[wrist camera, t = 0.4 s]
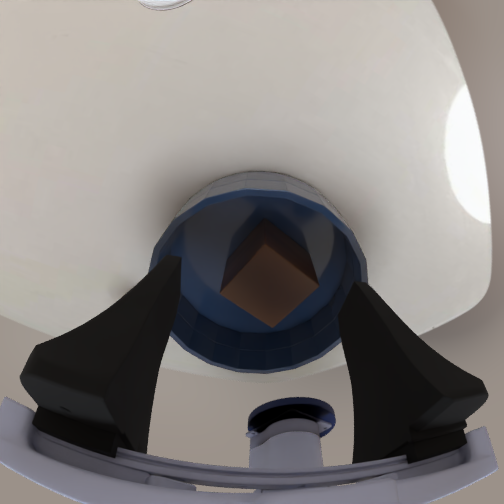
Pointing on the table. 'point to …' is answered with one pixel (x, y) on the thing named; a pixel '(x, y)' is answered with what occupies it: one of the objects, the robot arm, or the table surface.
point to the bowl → (221, 248)
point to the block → (268, 274)
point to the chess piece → (163, 4)
